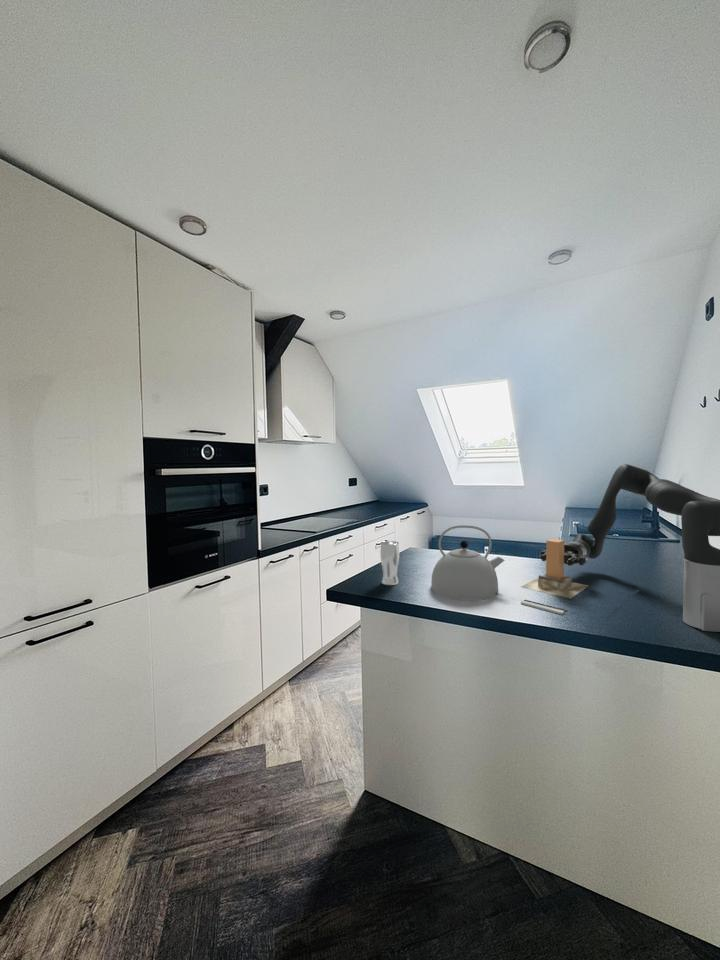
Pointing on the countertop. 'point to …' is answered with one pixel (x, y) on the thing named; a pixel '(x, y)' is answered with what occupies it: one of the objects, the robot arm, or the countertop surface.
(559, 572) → the tan rectangular block
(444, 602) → the countertop surface
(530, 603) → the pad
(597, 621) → the countertop surface
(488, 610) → the countertop surface
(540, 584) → the wooden socket base
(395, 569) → the beer glass
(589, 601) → the countertop surface
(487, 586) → the kettle
